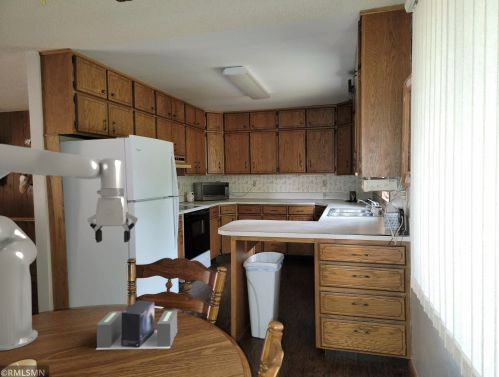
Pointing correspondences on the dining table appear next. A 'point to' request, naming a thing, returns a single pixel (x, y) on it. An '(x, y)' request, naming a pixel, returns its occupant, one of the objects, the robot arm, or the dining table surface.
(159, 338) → the block
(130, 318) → the small box
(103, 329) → the block
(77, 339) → the dining table surface
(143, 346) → the rail board
